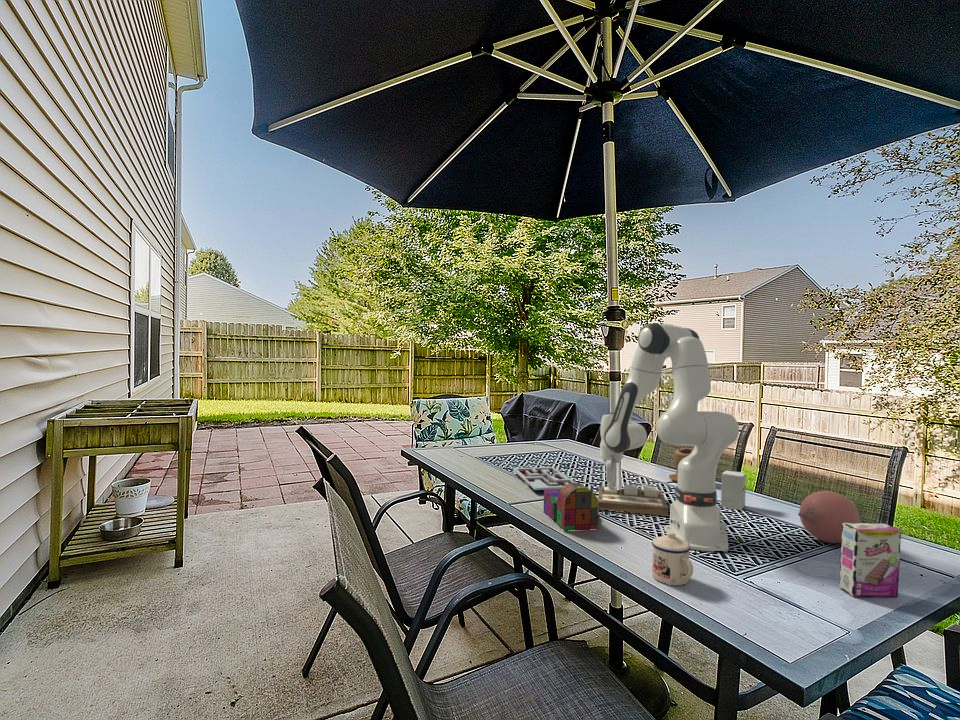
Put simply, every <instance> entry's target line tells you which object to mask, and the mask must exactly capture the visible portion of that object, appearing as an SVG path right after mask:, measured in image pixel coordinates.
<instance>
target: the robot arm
mask: <svg viewBox="0 0 960 720" xmlns="http://www.w3.org/2000/svg"><path fill="white" fill-rule="evenodd" d="M637 343H638V346H636V347H637V348H636V349H635V352H634V354H633V358H632V362H631V365H630V370H629V373H628V376H627V379H626V382H625V383H624V385H623V387H622V389H621V391H620V393H619V394H620V395H619V398H618V400H617V402H616V406H615V408H614V412H608V413H604V414H603V415H602V417H601V421H600V428H599V429H600V439H601V440H600V443H599V457H600V458H601V459H602V462H603V463H605V472H606V473H605V481H606V482H607V483H608V484H607V485H608V486H607V487H608V488H609V489H613V487H614V483H616V482H617V464H619V463H620V462H621V460H623V459H624V452H627V451H629V450H634V449H638V448H641V447H644V445H645V444H646V443H647V441H648V433H647V430H646V428H645V427H644V426H643V425H642V424H640V423H637V422H635V421H633V420H632V417H633V413H634V411H635V407H636V406H637V404H638V403H639V402H640V401H641V400H643V398H645V397H646V396H649V395H650V394H652V393H653V392H655V391H656V390H657V388H658V385H659V384H660V381H661V377H662V375H663V374H662V373H663V369H664V363H665V361H666V360H667V359H668V358H670V360H671V369H672V378H673V380H672V381H673V383H672V384H673V396H672V400H671V403H670V405H669V406H668V408H667V410H666V411H665V412H663V413H662V414H661V415H660V416H659V417H658V420H657V422H656V427H655V428H656V434H657V437H658V438H659V439H660V440H661V442H663V444H667V445H671V446H677V447H693V448H692V449H693V451H692V452H691V454H690V455H688V456H687V457H685V458H683V459H682V460H681V461H680V462H679V465H678V482H677V486H676V487H675V498H676V499H675V501H674V502H672V503H670V510H669V511H670V513H669V514H670V515H669V525H668V524H667V525H664V526H663V530H664V532H665V533H666V534H667V533H668V532H673V533H675V536H676V537H678V538H679V539H682V540H684V541H686V542H687V543H688V544H689V546H690V550H696V551H702V552H703V551H704V552H714V551H723V552H728V551H729V540H728V533H727V531H726V530H727V522H724V515H723V514H721V508H720V507H719V506H718V505H717V503H718V495H717V490H716V476H717V468H718V463H719V462H720V459H721V457H722V455H723V453H724V452H725V450H726V449H727V448H728V447H730V445H732V444H733V443H735V442H736V440H737V438H738V437H739V434H740V426H739V423H738V421H737V419H736V418H735V417H734V416H733V414H730V413H727V412H721V411H714V410H713V411H709V410H707V411H704V410H703V411H698V404H699V402H700V401H702V400H704V399H705V398H706V397H708V396H709V394H710V392H711V390H712V384H711V377H710V376H711V375H710V369H709V362H708V358H707V354H706V351H705V348H704V344H703V343H702V340H700V336H699V334H698V333H697V332H696V331H694V329H691V328H688V327H681V326H677V325H674V324H669V323H656V322H655V323H654V322H653V323H646V324H645V325H643V326H642V327H641V328H640V330H639V332H638V336H637ZM616 463H617V464H616ZM722 520H723V522H722Z"/></svg>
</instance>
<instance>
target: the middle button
mask: <svg viewBox="0 0 960 720" xmlns="http://www.w3.org/2000/svg"><path fill="white" fill-rule="evenodd" d="M623 489H624V495H635V496H638V490H639V489H638V485H636V484H635V485H634V484H623Z"/></svg>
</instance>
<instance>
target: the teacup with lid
mask: <svg viewBox="0 0 960 720" xmlns="http://www.w3.org/2000/svg"><path fill="white" fill-rule="evenodd" d="M651 545H652V575H651V576H652V578H653V579H655V580H656V581H657V580H658V581H657V582H659V581H660V583H661V582H663V583H662V584H664V583H666V584H665V585H668V584H671V585H670V586H675V585H679V586H684V585H686V584H687V583H688V582H689V579H690V578H691V577H692V576H693V573H694V566H693V563H692V561H691V560H690V550H691V549H690V546H689V544H688V543H687V542H686V541H684V540H682V539H679V538H678V537H676V536H675V533H673V532H668V533H666V535H662V536H657V537H656V536H655V538H653V540H652V542H651ZM683 584H684V585H683Z"/></svg>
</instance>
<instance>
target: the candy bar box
mask: <svg viewBox="0 0 960 720" xmlns="http://www.w3.org/2000/svg"><path fill="white" fill-rule="evenodd" d="M901 540H902V530H900V528H897V527H894V526H891V525H889V524H886V523H861V522H860V523H842V542H841V543H840V544H841V547H840V569H839V571H840V572H839V589H840V590H842V591H844V592H845V593H847V594H848V595H849V596H852V597H853V598H898V596H899V583H900V582H899V580H900V578H899V577H900V573H899V572H900V559H901V558H900V557H901Z"/></svg>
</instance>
